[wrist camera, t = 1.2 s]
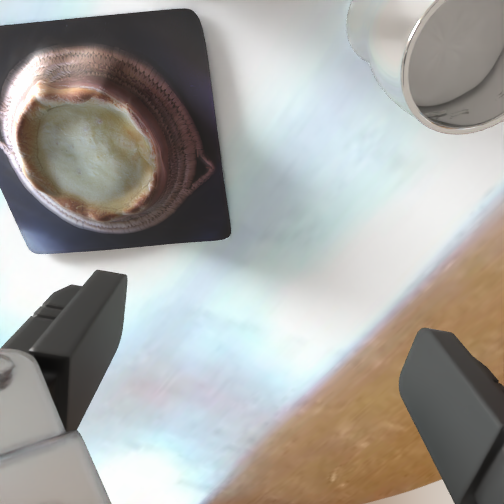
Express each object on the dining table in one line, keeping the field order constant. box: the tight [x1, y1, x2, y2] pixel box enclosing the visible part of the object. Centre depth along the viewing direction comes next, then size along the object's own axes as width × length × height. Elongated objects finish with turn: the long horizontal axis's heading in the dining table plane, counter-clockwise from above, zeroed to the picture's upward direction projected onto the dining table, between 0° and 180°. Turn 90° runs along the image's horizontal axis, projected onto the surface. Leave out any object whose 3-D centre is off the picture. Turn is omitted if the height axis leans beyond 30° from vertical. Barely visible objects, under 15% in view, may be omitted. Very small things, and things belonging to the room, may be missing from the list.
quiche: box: [0, 9, 231, 254], centre depth 34 cm, size 21×20×4 cm
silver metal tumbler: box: [346, 0, 504, 134], centre depth 23 cm, size 7×7×15 cm
